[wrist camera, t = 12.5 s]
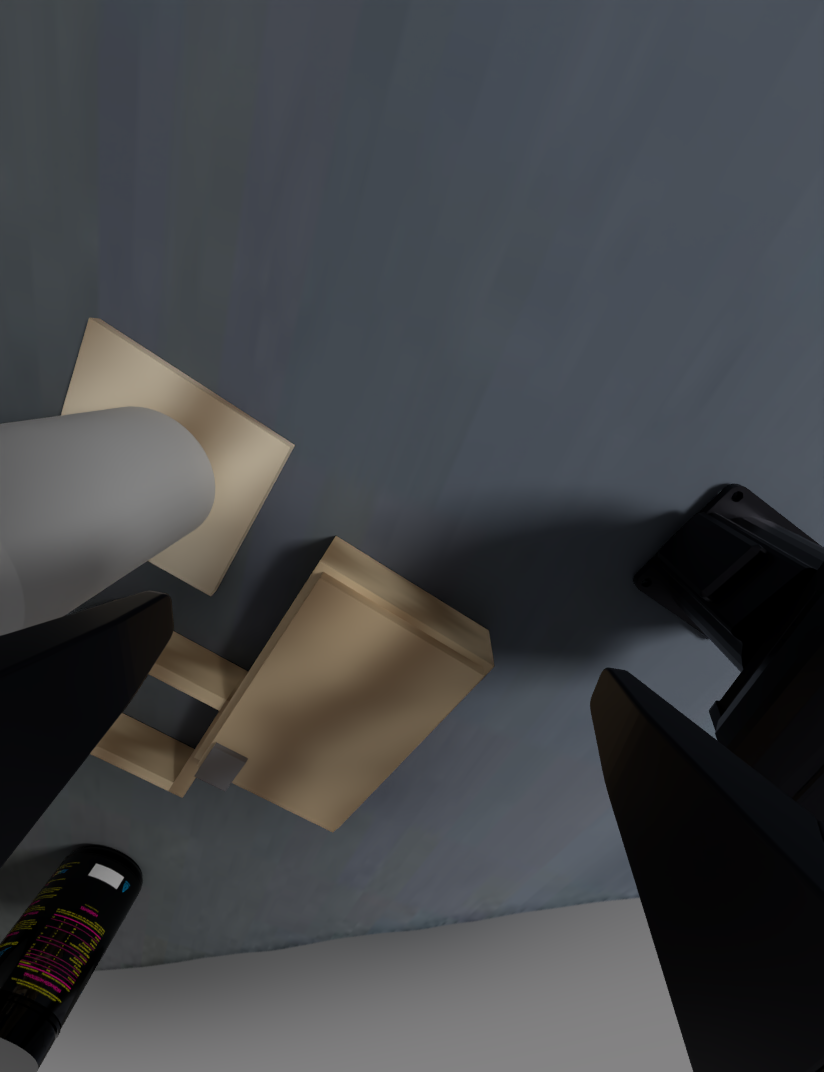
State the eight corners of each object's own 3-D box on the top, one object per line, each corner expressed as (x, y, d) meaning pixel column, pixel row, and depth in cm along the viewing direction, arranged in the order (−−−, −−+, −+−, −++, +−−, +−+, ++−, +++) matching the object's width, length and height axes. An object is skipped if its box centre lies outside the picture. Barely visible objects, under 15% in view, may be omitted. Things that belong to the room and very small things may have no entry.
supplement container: (60, 870, 36) (-78, 1052, 27) (80, 830, 34) (-64, 1015, 24) (134, 900, 37) (26, 1087, 28) (158, 864, 35) (49, 1054, 25)
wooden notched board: (488, 630, 24) (496, 679, 20) (315, 819, 31) (298, 879, 28) (182, 440, 21) (127, 457, 17) (72, 699, 28) (18, 749, 25)
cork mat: (295, 445, 20) (290, 447, 20) (216, 591, 24) (210, 596, 23) (99, 318, 19) (89, 317, 18) (46, 494, 22) (36, 498, 22)
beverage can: (147, 547, 23) (-142, 726, 12) (70, 433, 20) (-376, 520, 9) (247, 507, 21) (28, 667, 10) (175, 381, 19) (-200, 410, 8)
